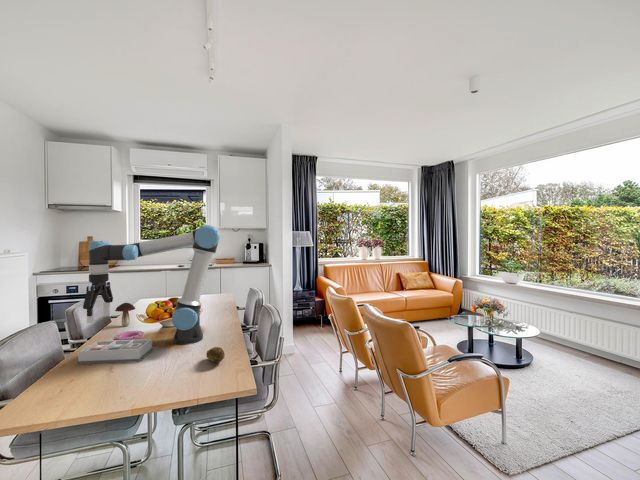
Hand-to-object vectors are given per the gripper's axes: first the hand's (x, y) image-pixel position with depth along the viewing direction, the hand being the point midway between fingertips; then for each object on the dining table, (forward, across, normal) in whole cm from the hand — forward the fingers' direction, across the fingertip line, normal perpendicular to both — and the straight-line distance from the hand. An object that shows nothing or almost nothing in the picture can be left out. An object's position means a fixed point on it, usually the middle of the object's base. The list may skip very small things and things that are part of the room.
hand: (99, 319), depth 141 cm
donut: (+19, -19, +4) cm, 27 cm away
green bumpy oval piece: (+18, +12, +56) cm, 60 cm away
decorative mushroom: (+18, -51, -14) cm, 56 cm away
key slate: (+15, 0, +8) cm, 17 cm away
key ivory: (+15, 0, +16) cm, 22 cm away
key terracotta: (+15, 0, 0) cm, 15 cm away
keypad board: (+18, 0, +8) cm, 20 cm away
